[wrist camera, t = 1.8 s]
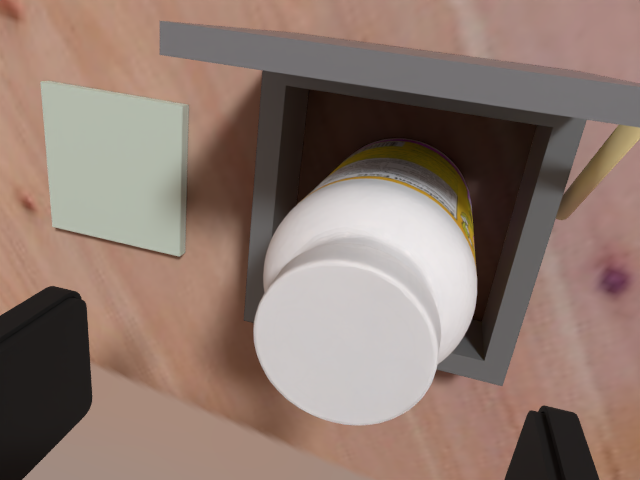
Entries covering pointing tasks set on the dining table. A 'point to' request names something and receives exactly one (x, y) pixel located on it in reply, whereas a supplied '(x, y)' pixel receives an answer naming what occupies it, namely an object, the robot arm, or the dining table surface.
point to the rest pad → (117, 165)
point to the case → (438, 93)
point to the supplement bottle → (369, 284)
